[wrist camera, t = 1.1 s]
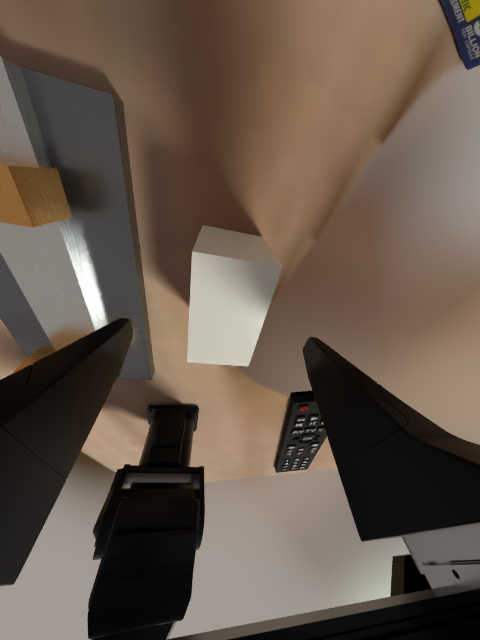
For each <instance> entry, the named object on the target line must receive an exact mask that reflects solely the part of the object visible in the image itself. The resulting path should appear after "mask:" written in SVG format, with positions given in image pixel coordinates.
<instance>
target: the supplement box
mask: <svg viewBox="0 0 480 640" xmlns="http://www.w3.org/2000/svg"><path fill="white" fill-rule="evenodd" d="M440 1H441V4H442V7H443V9H444V11H445V14H446V16H447V19H448V21H449V24H450V26H451V28H452V30H453V33H454V37H455V40H456V43H457V46H458V49H459V54H460V56H461V59H462V61H463V63H464V65H465V67H466V69H467V70H468V69H472V68H474V67H476V66H479V65H480V0H440Z"/></svg>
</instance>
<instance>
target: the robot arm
mask: <svg viewBox="0 0 480 640" xmlns="http://www.w3.org/2000/svg"><path fill="white" fill-rule="evenodd" d="M132 338H133V327H132V322H131V319H129V318H119V319H117V320H115V321H113V322H111V323H109V324H107V325H105V326H103V327H101V328H99V329H98V330H96V331H94V332H92V333H90V334H88V335H86V336H84V337H82V338H80V339H78V340H76V341H75V342H73V343H71V344H69V345H67V346H65V347H63V348H61V349H59V350H57V351H55V352H53V353H52V354H50V355H48V356H46V357H44V358H42V359H40V360H38V361H36V362H34V363H33V365H28V366H27V367H25V368H23V369H21V370H19V371H17V372H15V373H13V374H11V375H9V376H7V377H5V378H3V379H1V380H0V586H4V585H13V584H14V583H15V581H16V579H17V578H18V576H19V574H20V572H21V570H22V568H23V566H24V564H25V562H26V560H27V558H28V556H29V554H30V552H31V550H32V548H33V546H34V544H35V542H36V540H37V538H38V536H39V534H40V531H41V530H42V528H43V526H44V524H45V522H46V520H47V517H48V515H49V513H50V511H51V510H52V508H53V506H54V504H55V502H56V500H57V497H58V495H59V494H60V492H61V489H62V487H63V485H64V483H65V481H66V478H67V477H68V475H69V473H70V471H71V469H72V467H73V465H74V463H75V461H76V459H77V457H78V455H79V453H80V451H81V449H82V447H83V445H84V443H85V441H86V439H87V437H88V435H89V433H90V431H91V429H92V427H93V425H94V423H95V421H96V419H97V417H98V415H99V413H100V411H101V409H102V407H103V405H104V403H105V401H106V399H107V397H108V395H109V393H110V391H111V389H112V387H113V385H114V383H115V381H116V378H117V376H118V374H119V372H120V370H121V368H122V366H123V364H124V361H125V358H126V355H127V352H128V350H129V347H130V344H131V341H132ZM303 355H304V359H305V364H306V369H307V374H308V378H309V381H310V384H311V387H312V390H313V394H314V397H315V400H316V403H317V406H318V409H319V412H320V415H321V418H322V421H323V425H324V428H325V431H326V434H327V437H328V440H329V443H330V446H331V449H332V453H333V456H334V459H335V462H336V465H337V468H338V472H339V474H340V478H341V481H342V484H343V487H344V490H345V493H346V496H347V499H348V502H349V506H350V508H351V512H352V515H353V518H354V521H355V524H356V528H357V531H358V533H359V536H360V538H361V541H371V540H380V539H387V538H396V537H402V538H403V540H404V542H405V544H406V546H407V548H408V550H409V552H410V554H406V555H399V556H393V561H392V579H391V597H387V598H382V599H377V600H371V601H366V602H361V603H356V604H350V605H346V606H340V607H335V608H329V609H324V610H319V611H314V612H309V613H304V614H298V615H293V616H288V617H282V618H277V619H272V620H267V621H262V622H257V623H251V624H246V625H241V626H235V627H230V628H225V629H220V630H214V631H209V632H204V633H199V634H194V635H189V636H183V637H178V638H173V639H168V638H169V636H170V634H171V631H172V629H173V627H174V625H175V623H176V621H181V620H182V619H183V618H184V615H185V613H186V610H187V607H188V604H189V601H190V598H191V592H192V578H193V568H194V560H195V552H196V550H198V549H199V547H200V545H201V541H202V536H203V529H204V513H205V511H204V510H205V508H204V507H205V504H204V466H199V467H189V466H190V457H191V448H192V439H193V431H196V428H197V420H198V413H199V408H198V407H180V406H149V407H148V409H147V413H148V419H149V424H150V428H149V432H148V435H147V438H146V442H145V445H144V449H143V452H142V456H141V459H140V463H139V466H130V464H125V465H124V468H122V469H118V470H117V472H116V475H115V478H114V481H113V483H112V486H111V489H110V492H109V494H108V496H107V498H106V501H105V503H104V505H103V508H102V510H101V512H100V515H99V517H98V519H97V522H96V524H95V527H94V530H93V534H94V536H95V539H96V542H95V546H94V547H96V548H95V552H94V556H93V560H97V559H101V563H100V565H99V569H98V572H97V576H96V579H95V582H94V585H93V589H92V592H91V595H90V599H89V605H88V608H89V611H88V638H89V639H91V640H480V445H478V444H475V443H471V442H469V441H466V440H463V439H461V438H458V437H456V436H454V435H452V434H450V433H448V432H447V431H445V430H444V429H442V428H440V427H439V426H437V425H436V424H435V423H433V422H432V421H430V420H429V419H427V418H426V417H424V416H423V415H421V414H420V413H418V412H417V411H416V410H414V409H413V408H411V407H410V406H408V405H407V404H405V403H404V402H402V401H401V400H400V399H398V398H397V397H395V396H394V395H393V394H391V393H390V392H389V391H387V390H386V389H385V388H383V387H382V386H381V385H379V384H377V382H375V381H374V380H373V379H371V378H370V377H369V376H367V375H366V374H364V373H363V372H362V371H361V370H359V369H358V368H357V367H355V366H354V365H353V364H351V363H350V362H349V361H347V360H346V359H345V358H343V357H342V356H340V355H339V354H338V353H337V352H335V351H334V350H333V349H332V348H330V347H329V346H327V345H326V344H325V343H324V342H322V341H321V340H319V339H318V338H315V337H310V338H308V340H307V342H306V344H305V346H304V347H303ZM126 484H131V487H130V488H127V489H126V488H125V487H126Z"/></svg>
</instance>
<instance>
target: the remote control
mask: <svg viewBox="0 0 480 640" xmlns="http://www.w3.org/2000/svg"><path fill="white" fill-rule="evenodd" d="M290 398H291V402H290V406H289V410H288V415H287V419H286V423H285V427H284V431H283V435H282V440H281V444H280V448H279V452H278V456H277V460H276V464H275V470H276V473H278V472H287V471H296V470H306V469H308V467H309V465H310V464H311V462H312V460H313V459H314V457H315V455H316V454H317V452H318V450H319V449H320V447H321V445H322V444H323V442H324V440H325V438H326V437H327V434H326V431H325V428H324V425H323V421H322V418H321V415H320V412H319V409H318V406H317V403H316V400H315V397H314V394H313V390H311V391H301V392H291V394H290Z"/></svg>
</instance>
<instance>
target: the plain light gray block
mask: <svg viewBox="0 0 480 640" xmlns="http://www.w3.org/2000/svg"><path fill="white" fill-rule="evenodd" d="M282 268H283V267H282V265H281V264H280V262H279V261H278V259H277V258H276V256H275V255H274V253H273V252H272V250H271V249H270V248H269V246H268V245H267V243H266V242H265V240H264V239H263V237H261V236H256V235H251V234H246V233H241V232H236V231H231V230H226V229H220V228H215V227H210V226H205V225H203V226H202V228H201V231H200V233H199V236H198V238H197V240H196V243H195V245H194V248H193V250H192V264H191V286H190V309H189V332H188V354H187V362H191V363H206V364H221V365H235V366H249V363H250V360H251V357H252V354H253V352H254V349H255V346H256V343H257V340H258V337H259V334H260V331H261V328H262V325H263V323H264V319H265V316H266V314H267V311H268V308H269V305H270V302H271V299H272V296H273V294H274V291H275V288H276V285H277V282H278V279H279V276H280V273H281V270H282Z"/></svg>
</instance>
